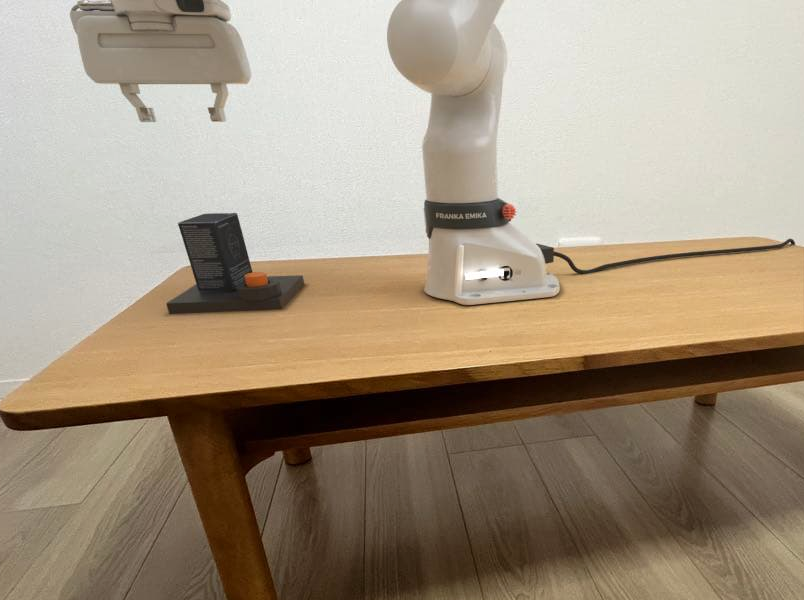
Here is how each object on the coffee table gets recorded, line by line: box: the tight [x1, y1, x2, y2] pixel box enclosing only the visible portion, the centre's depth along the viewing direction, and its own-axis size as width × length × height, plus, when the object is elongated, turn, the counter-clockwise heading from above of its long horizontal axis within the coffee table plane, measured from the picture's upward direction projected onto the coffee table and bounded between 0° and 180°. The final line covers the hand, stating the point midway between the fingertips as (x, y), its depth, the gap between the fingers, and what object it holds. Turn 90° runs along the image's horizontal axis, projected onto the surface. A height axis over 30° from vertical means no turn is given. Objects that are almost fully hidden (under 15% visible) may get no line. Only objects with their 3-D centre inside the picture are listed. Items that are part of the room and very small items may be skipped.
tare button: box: [244, 271, 268, 287], centre depth 81 cm, size 3×3×2 cm
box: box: [177, 212, 253, 292], centre depth 84 cm, size 8×6×11 cm
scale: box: [165, 274, 305, 315], centre depth 85 cm, size 16×14×4 cm
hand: (184, 122), depth 76 cm, fingers open, 8 cm apart
